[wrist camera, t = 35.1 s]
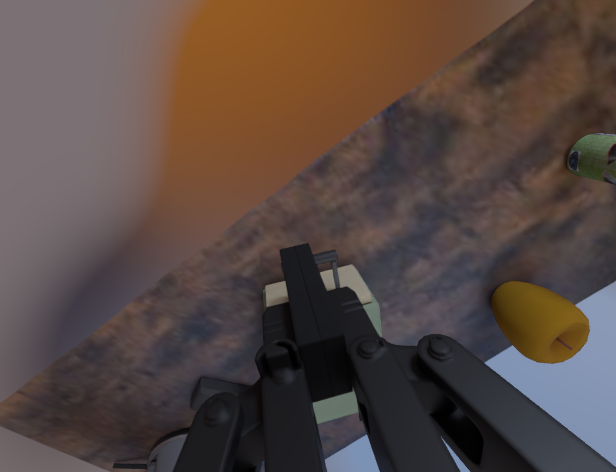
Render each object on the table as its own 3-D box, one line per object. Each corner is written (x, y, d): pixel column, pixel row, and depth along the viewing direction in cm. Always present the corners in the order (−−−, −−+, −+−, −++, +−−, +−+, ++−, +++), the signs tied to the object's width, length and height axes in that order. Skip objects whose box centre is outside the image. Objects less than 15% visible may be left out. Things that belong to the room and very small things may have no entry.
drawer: (254, 249, 40) (254, 280, 33) (348, 227, 41) (367, 253, 34) (289, 371, 51) (295, 414, 44) (363, 351, 52) (380, 390, 45)
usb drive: (201, 376, 49) (198, 391, 47) (267, 389, 53) (267, 403, 51) (191, 397, 51) (187, 413, 48) (255, 408, 55) (256, 423, 52)
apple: (463, 307, 53) (522, 364, 42) (505, 260, 50) (581, 307, 39) (499, 326, 57) (562, 383, 46) (541, 284, 54) (619, 333, 43)
